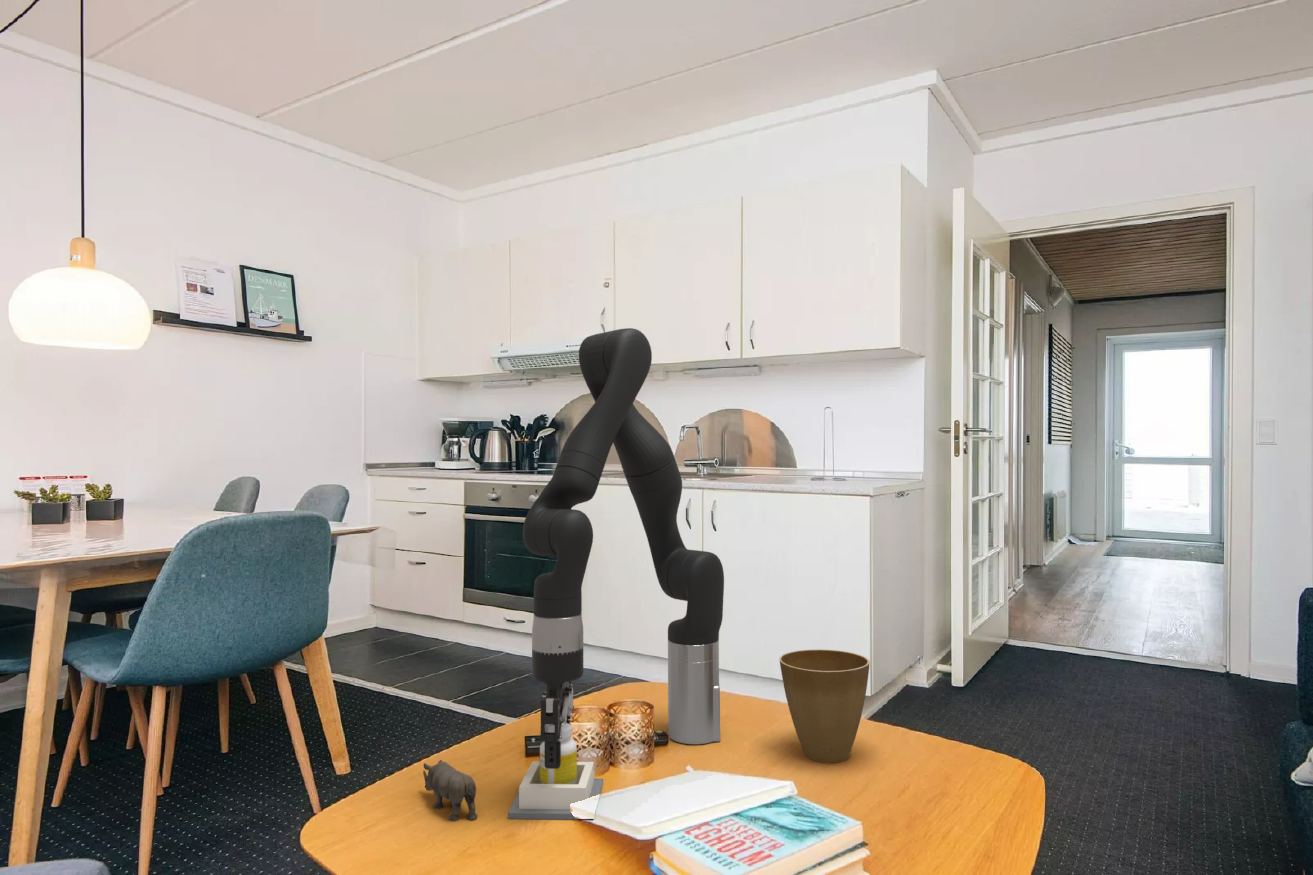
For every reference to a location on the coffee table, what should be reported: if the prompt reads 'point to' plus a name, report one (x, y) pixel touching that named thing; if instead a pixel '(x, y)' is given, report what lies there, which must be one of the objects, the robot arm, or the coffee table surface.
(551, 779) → the supplement bottle
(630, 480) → the robot arm
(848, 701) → the plant pot
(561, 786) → the box
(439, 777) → the rhino figurine
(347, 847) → the coffee table surface
